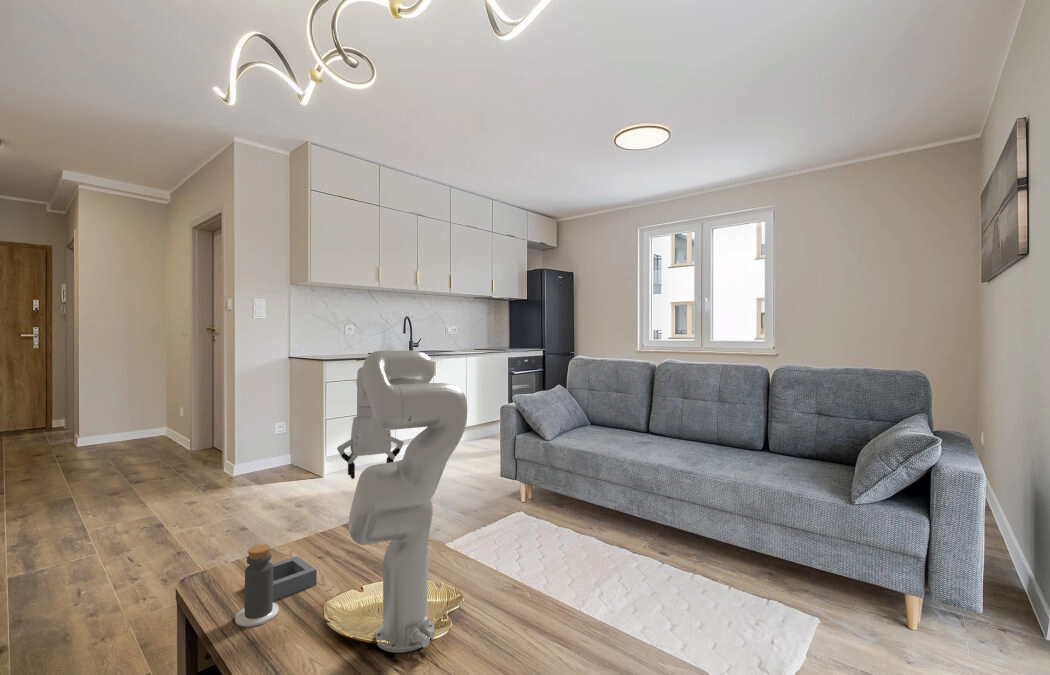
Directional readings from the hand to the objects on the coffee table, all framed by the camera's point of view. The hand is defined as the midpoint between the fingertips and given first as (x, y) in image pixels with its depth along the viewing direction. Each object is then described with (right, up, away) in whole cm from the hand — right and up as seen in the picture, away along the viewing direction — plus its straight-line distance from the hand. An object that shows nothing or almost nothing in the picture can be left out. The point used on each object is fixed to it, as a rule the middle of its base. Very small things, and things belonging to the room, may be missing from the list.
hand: (370, 475), depth 133 cm
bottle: (-21, -28, -17) cm, 39 cm away
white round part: (-21, -28, -17) cm, 39 cm away
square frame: (-22, -28, -3) cm, 36 cm away
